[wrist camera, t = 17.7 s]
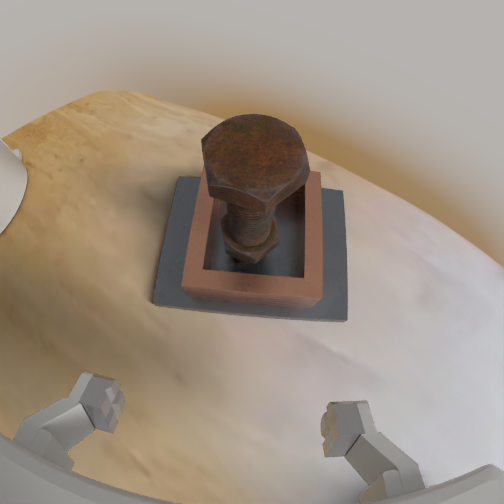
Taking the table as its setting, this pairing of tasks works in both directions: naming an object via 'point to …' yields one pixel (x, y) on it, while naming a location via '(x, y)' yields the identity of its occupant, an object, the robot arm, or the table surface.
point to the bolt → (253, 179)
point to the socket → (264, 271)
